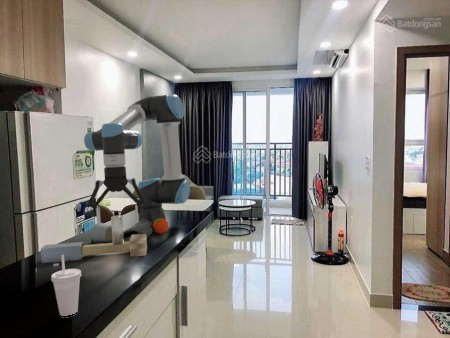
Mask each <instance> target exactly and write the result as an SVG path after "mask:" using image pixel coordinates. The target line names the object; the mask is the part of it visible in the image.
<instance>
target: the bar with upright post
mask: <svg viewBox="0 0 450 338" xmlns="http://www.w3.org/2000/svg"><path fill="white" fill-rule="evenodd" d="M110 219H111V221H110V223H111V224H110V225H112V241H111V242H104V243H94V244H84V245H82V247H81V253H82V256H84V257H85V256H97V255H104V254H105V255H107V254H118V253H120V254H121V253H128V252H129V253H130V241H129V242H124V233H123V232H124V220H123V215H112V216H111V217H110Z"/></svg>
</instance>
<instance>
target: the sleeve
mask: <svg viewBox="0 0 450 338" xmlns="http://www.w3.org/2000/svg"><path fill="white" fill-rule="evenodd" d="M82 245H85V243H84V241H80V242H66V243H55V244H53V243H51V244H45V245H44V246H42V248H40V254H41V255H40V257H41V259H40V260H41V264H46V263H58V262H62V257H61V255H64V262H68V261H69V260H70V261H80V260H79V259H81V260H83V258H84V257H85V256H82V253H81V247H82Z"/></svg>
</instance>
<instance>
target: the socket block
mask: <svg viewBox="0 0 450 338" xmlns="http://www.w3.org/2000/svg"><path fill="white" fill-rule="evenodd" d="M147 239H148V238H147V237H146V234H137V235H131V238H130V252H129V253H130V255H129V256H130V257H141V256H142V257H143V256H147V251H148V241H147Z"/></svg>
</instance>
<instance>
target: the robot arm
mask: <svg viewBox="0 0 450 338" xmlns="http://www.w3.org/2000/svg"><path fill="white" fill-rule="evenodd" d="M184 117H185V107H184V104H183V101H182V99H181V98H180V96H178V95H177V94H164V95H155V96H154V95H153V96H151V95H150V96H146V97H143V98H141V99H139V100H137V101H136V102H134V103H132V104H131V105H130V106H128V108H127V110H126V111H124V112H123V113H122V114H120V115H118V116H117V117H116V118H114V119H113V120H112V121H110V122H109V123H104V124H102V125H101V128H100V129H99V130H97V131H89V132H87V133H86V134H85V135H84V138H83V144H84V146H85V147H86V149H87V150H89V151H96V152H98V151H102V155H103V166H104V168H103V170H104V171H103V172H104V180H99V179H98V180H95V182H94V183H95V185H94V186H95V187H94V189H93V192H92V193H91V195H90V198H89V200H88V202H87V204H86V205H87V207H88V208H89V207H90V208H92V212H93V217H94V218H96V224H97V226H100V225H101V223H102V222H101V220H102V219H101V208H100V206H99V205H100V203H101V202H102V200H104V198H105V197H106V196H107V194H108V193H109V192H110V193H115V192H122V191H123V192H124V194H126V195H128V197H129V198H131V200H132V201H133V202H134V203H136V204H135V206H134V207H135V224H136V225H137V224H138V223H139V222H140V221H141V220H143V219H146V220H149V221H150V222H151V223H152V224H154V222H155V221H156V220H157V219H160V218H163V219H165V220H166V221H167V218H166V215H165V212H164V209H163V204H164V205H165V204H169V205H171V204H174V205H178V204H179V205H180V204H185V203H186V202H187V201H188V199H189V196H190V192H191V186H190V185H191V184H190V182H189V181H188V180H187V179H186V176H185V175H184V174H182V173H183V172H182V164H181V151H180V150H181V149H180V139H179V138H180V137H179V136H180V135H179V127H178V126H179V125H180V124H181V119H183V118H184ZM146 121H156V124H157V126H159V129H160V137H161V139H160V141H161V151H162V152H161V153H162V162H163V175H162V177H161V178H160V177H159V178H158V177H157V178H151V179H150V178H149V179H144V180H141V181H139V182H138V184H137V182H136V178H135V177H133V178H130V179H128V178H127V169H126V168H127V167H126V166H125V165H126V153H125V150H136V149H138V148H140V147H141V146H142V145H143V136H142V134H141V133H140V132H139V131H137V130H133V129H134V127H135V126H136V125H140V124H142V123H144V122H146ZM128 184H130V186H131V185H132V187H133V189H134V191H135V192H136V194H137V196H136V195H135V194H134V193H133V192H132V191H131V190H130V189H129V188H128V187H127V185H128ZM103 185H104V186H105V189H104V191H103V192H102V194H101V195H100V196H99V197H98V198H97V200H96V201H95V199H96V196H97V195H98V192H99V190H100V188H101V187H102V186H103ZM94 201H95V202H94Z"/></svg>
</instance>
